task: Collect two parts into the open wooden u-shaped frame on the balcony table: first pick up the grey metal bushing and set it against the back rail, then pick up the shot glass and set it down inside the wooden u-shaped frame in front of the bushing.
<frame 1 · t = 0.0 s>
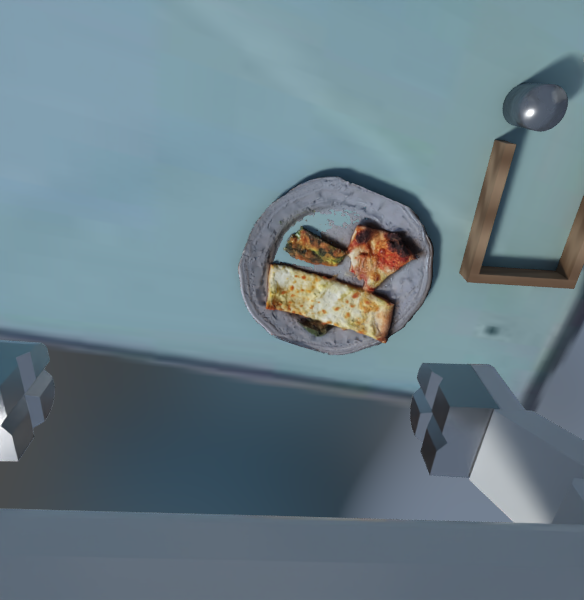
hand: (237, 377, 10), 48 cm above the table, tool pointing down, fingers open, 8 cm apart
bushing: (522, 104, 53), on the table
wooden u-shaped frame: (531, 210, 58), on the table
food plate: (335, 269, 62), on the table
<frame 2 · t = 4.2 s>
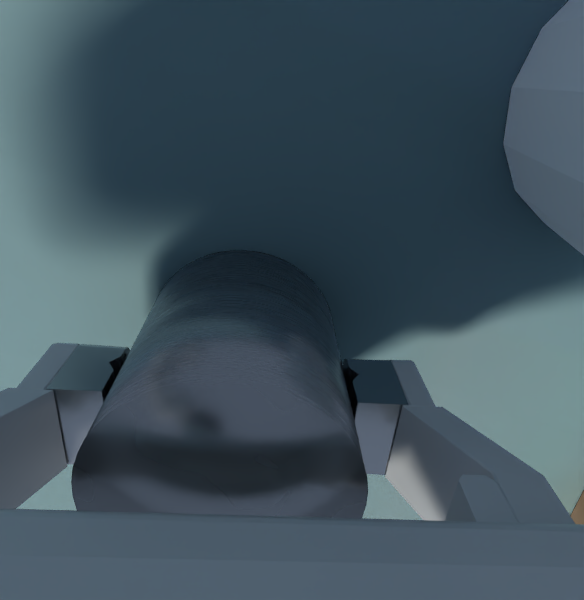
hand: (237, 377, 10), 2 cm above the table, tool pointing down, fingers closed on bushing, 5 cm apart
bushing: (242, 335, 12), on the table, touching gripper
when the fingers open (3 cm above the table, at t = 9.0 s): bushing drops 1 cm, resting in wooden u-shaped frame.
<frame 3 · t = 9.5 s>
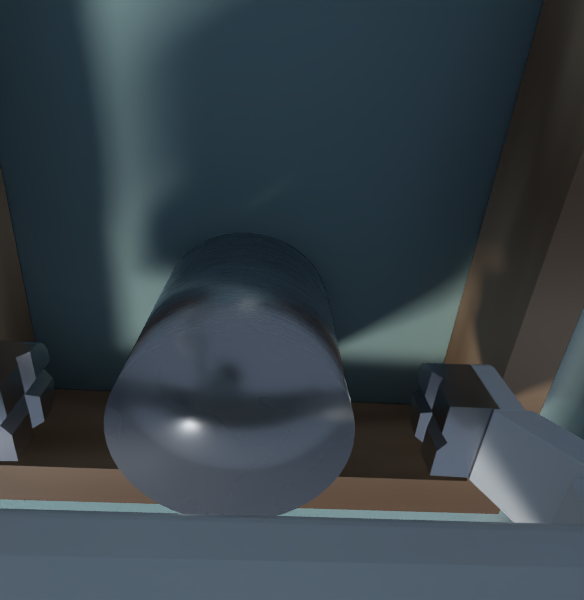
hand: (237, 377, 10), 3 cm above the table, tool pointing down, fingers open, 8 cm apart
bushing: (246, 310, 13), resting in wooden u-shaped frame
wooden u-shaped frame: (255, 123, 11), on the table
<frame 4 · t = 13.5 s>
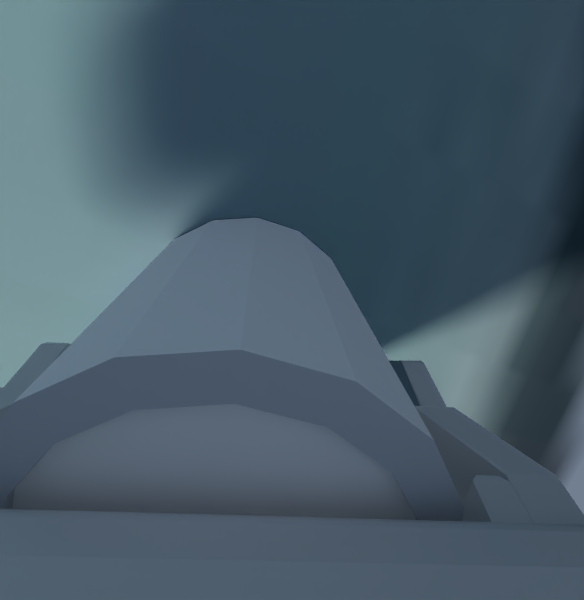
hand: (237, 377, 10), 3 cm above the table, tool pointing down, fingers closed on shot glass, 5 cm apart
shot glass: (246, 313, 13), on the table, touching gripper
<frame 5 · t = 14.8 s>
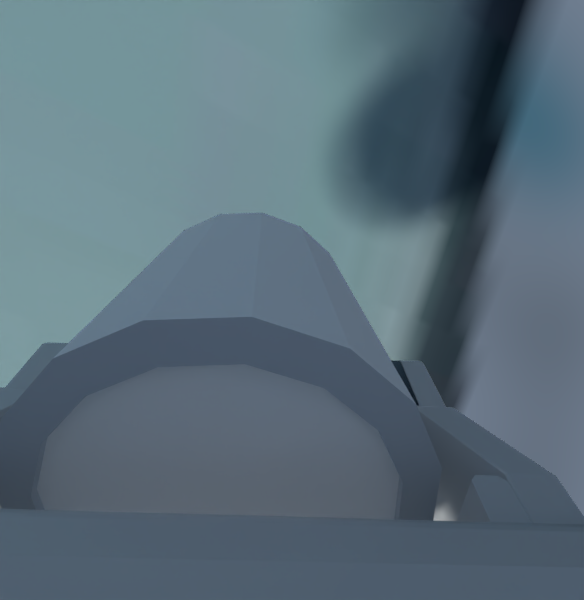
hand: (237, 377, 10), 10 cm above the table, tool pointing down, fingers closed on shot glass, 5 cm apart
shot glass: (248, 303, 13), point 6 cm above the table, touching gripper
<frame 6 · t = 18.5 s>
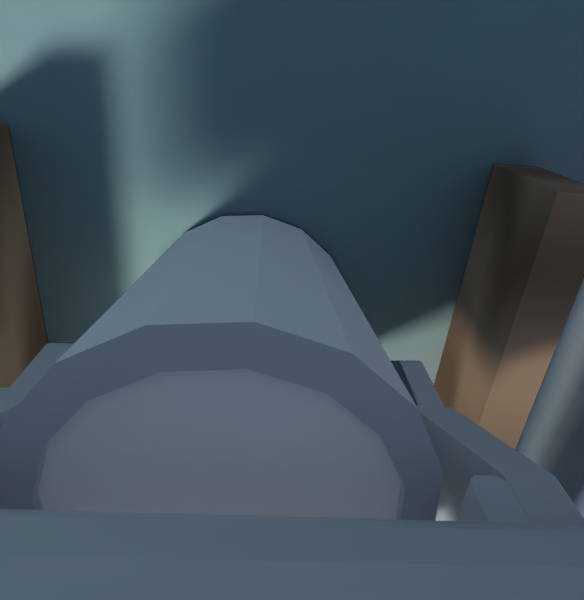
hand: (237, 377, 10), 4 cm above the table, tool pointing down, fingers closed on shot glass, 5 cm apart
wooden u-shaped frame: (246, 401, 15), on the table
shot glass: (249, 305, 13), on the table, touching gripper
when the fingers open (4 cm above the table, at t = 18.8 s): shot glass stays where it is, on the table.
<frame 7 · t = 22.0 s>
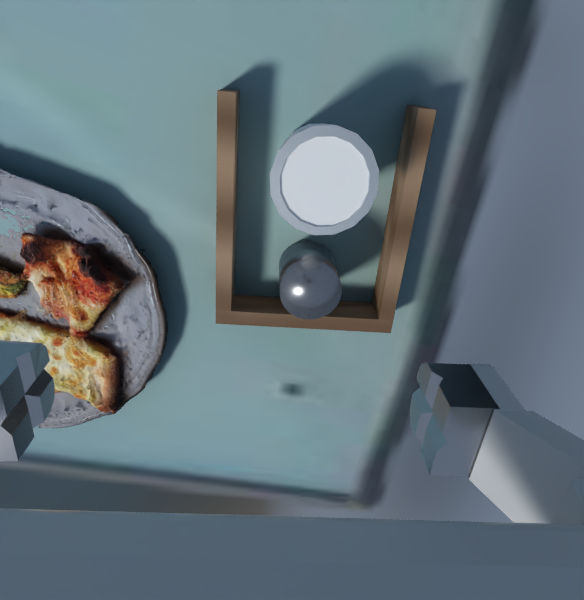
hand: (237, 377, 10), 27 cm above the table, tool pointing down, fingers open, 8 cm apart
bushing: (306, 266, 38), resting in wooden u-shaped frame
wooden u-shaped frame: (312, 208, 36), on the table
food plate: (24, 301, 40), on the table
shot glass: (315, 162, 35), on the table
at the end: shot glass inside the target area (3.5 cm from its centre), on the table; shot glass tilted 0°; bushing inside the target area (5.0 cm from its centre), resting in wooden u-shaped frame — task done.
